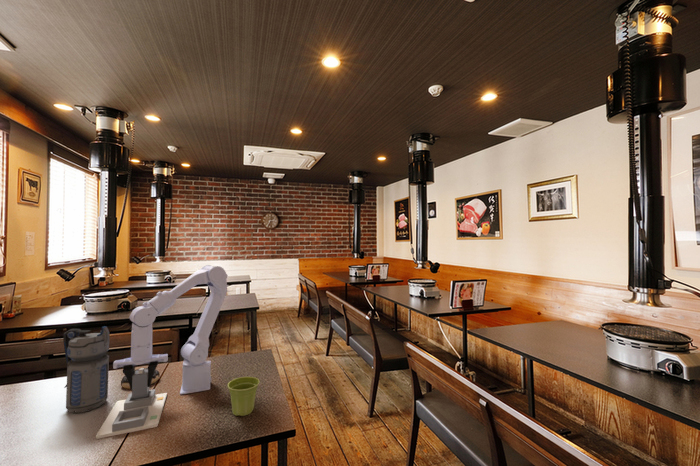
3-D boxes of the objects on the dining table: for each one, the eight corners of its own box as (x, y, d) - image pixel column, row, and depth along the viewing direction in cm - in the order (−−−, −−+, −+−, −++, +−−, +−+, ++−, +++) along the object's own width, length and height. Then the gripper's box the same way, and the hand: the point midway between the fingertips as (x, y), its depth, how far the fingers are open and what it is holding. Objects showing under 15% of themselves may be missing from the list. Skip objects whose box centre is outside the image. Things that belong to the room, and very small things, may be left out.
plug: (149, 390, 102) (149, 366, 102) (146, 395, 99) (147, 370, 99) (134, 392, 101) (135, 368, 101) (131, 398, 97) (132, 373, 97)
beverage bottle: (76, 398, 103) (78, 323, 104) (117, 397, 104) (119, 322, 105) (47, 415, 93) (51, 331, 94) (93, 414, 94) (96, 331, 95)
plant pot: (250, 400, 103) (250, 373, 103) (264, 411, 96) (265, 382, 96) (221, 410, 96) (222, 382, 96) (235, 423, 89) (235, 393, 90)
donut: (125, 379, 118) (126, 369, 118) (161, 374, 123) (162, 364, 123) (117, 392, 108) (117, 380, 108) (156, 386, 113) (157, 375, 113)
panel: (167, 395, 106) (167, 386, 106) (157, 426, 88) (157, 416, 88) (117, 403, 100) (117, 394, 100) (95, 439, 82) (96, 428, 82)
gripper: (110, 351, 94) (109, 397, 93) (166, 345, 99) (165, 388, 99) (117, 344, 100) (116, 387, 100) (168, 338, 106) (168, 379, 105)
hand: (140, 387), depth 100 cm, fingers closed on plug, 4 cm apart
